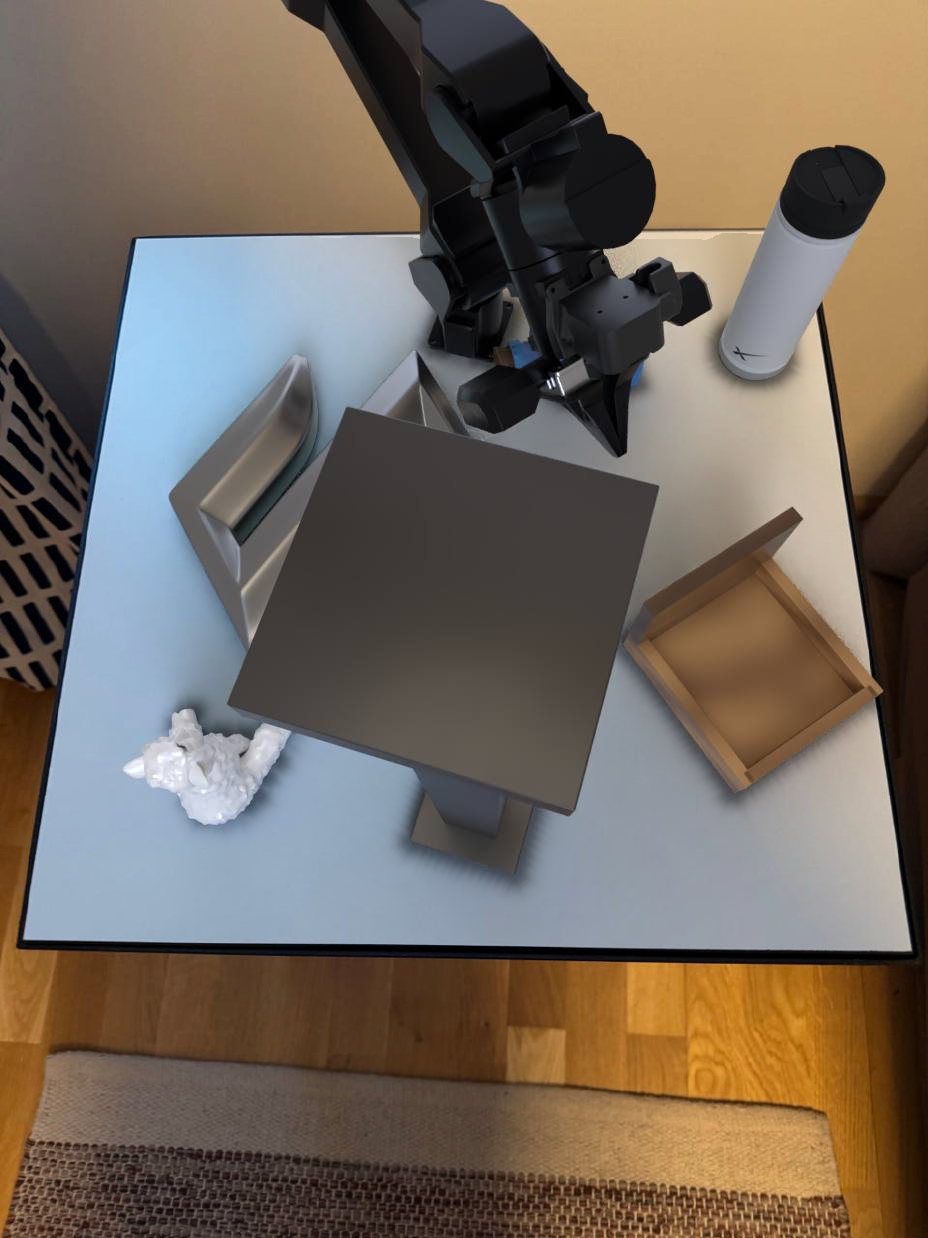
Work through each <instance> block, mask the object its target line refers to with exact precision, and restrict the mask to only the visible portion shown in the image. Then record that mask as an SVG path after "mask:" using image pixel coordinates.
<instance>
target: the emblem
mask: <svg viewBox="0 0 928 1238" xmlns="http://www.w3.org/2000/svg"><path fill="white" fill-rule="evenodd" d="M318 406H319V405H318V398H317V391H316V385H315V380H314V375H313V372H312V367H311V365H310V362H309V359H308V357H307V356H305V355H302V354H300V353H295V354H293V355H292V356H291V357H290V358H289V359H288V360H287V361H286V362H285V363H284V364H283V366H282V367H281V368H280V370H278V371H277V373H276V374H275V376H273V378H272V379H271V380H270V381H269V382H268V383H267V385H266V386H265V387H264V388H263V389H262V390H261V391H260V392H259V393H258V394H257V396H255V398H254V399H253V400H252V401H251V402H250V403H249V404H248V405H247V406H246V407H245V408H244V409H243V410H242V411H241V413H240V414H239V415H238V416H237V417H236V418H235V419H234V420H233V421H232V422H231V424H230V425H229V426H228V427H227V428H226V429H225V430H224V431H223V432H222V433H221V435H219V437H218V438H217V439H216V440H215V441H214V442H213V443H212V445H211V446H210V447H208V449H207V450H206V451H205V452H204V453H203V455H201V457H200V458H199V459H198V460H197V461H196V462H195V463H194V465H192V467H191V468H190V469H189V470H188V471H187V472H186V473H185V474H184V475H183V477H182V478H181V479H180V480H179V481H178V482H177V483H176V484H175V485H174V486H173V487H172V489H171V490H170V491H169V493H168V501H169V504H170V506H171V508H172V510H173V512H174V514H175V516H176V519H177V520H178V522H179V524H180V526H181V528H182V530H183V532H184V534H185V536H186V538H187V540H188V542H189V543H190V546H191V547H192V550H193V551H194V553H195V555H196V557H197V560H198V561H199V563H200V566H201V567H202V569H203V571H204V572H205V575H206V576H207V578H208V581H209V582H210V585H211V586H212V588H213V590H214V592H215V594H216V596H217V598H218V600H219V602H220V604H221V606H222V608H223V610H224V611H225V613H226V616H227V617H228V619H229V622H230V624H231V625H232V627H233V629H234V631H235V632H236V635H237V636H238V639H239V640H240V642H241V644H242V647H243V648H244V649H245V651H246V653H247V652H248V650H249V647H250V645H251V642H252V640H253V637H254V635H255V632H256V630H257V627H258V625H259V622H260V620H261V617H262V615H263V612H264V610H265V608H266V605H267V603H268V600H269V598H270V595H271V593H272V590H273V588H274V585H275V583H276V580H277V578H278V575H279V573H280V570H281V568H282V565H283V563H284V560H285V558H286V555H287V553H288V550H289V548H290V546H291V543H292V541H293V538H294V536H295V533H296V531H297V528H298V526H299V523H300V521H301V518H302V516H303V513H304V511H305V508H306V506H307V503H308V501H309V498H310V496H311V493H312V491H313V489H314V486H315V484H316V481H317V479H318V476H319V474H320V471H321V469H322V466H323V464H324V461H325V459H326V456H327V454H328V451H329V449H330V446H331V444H332V441H333V439H334V436H333V437H332V438H331V440H330V441H329V442H328V443H327V444H326V445H325V447H324V448H323V449H322V450H321V451H320V452H319V453H318V454H317V456H316V457H315V458H314V459H313V460H312V461H311V462H310V463H309V465H308V466H307V467H306V468H305V469H304V470H303V472H302V473H301V474H299V473H300V471H301V470H302V469H303V467H304V466H305V464H306V462H307V461H308V459H309V457H310V455H311V453H312V452H313V451H312V450H313V448H314V445H315V442H316V439H317V438H316V437H317V433H318V426H319V407H318ZM358 409H361V410H365V411H369V412H373V413H377V414H380V415H384V416H388V417H392V418H396V419H400V420H404V421H408V422H412V423H416V424H420V425H424V426H428V427H432V428H435V429H439V430H443V431H447V432H451V433H455V434H459V435H463V436H467V437H471V438H472V436H471V435H470V433H469V431H468V430H467V428H466V427H465V425H464V424H463V422H462V420H461V419H460V417H459V415H458V414H457V412H456V411H455V409H454V407H453V405H452V404H451V403H450V401H449V399H448V398H447V396H446V394H445V393H444V391H443V389H442V388H441V386H440V385H439V383H438V382H437V380H436V378H435V376H434V375H433V373H432V372H431V370H430V368H429V367H428V365H427V364H426V362H425V360H424V359H423V358H422V355H420V353H419V352H418V350H417V349H413V350H411V351H410V352H409V353H408V354H407V355H406V356H405V357H404V359H402V360H401V362H400V363H399V364H398V365H397V366H396V367H395V368H394V370H393V371H392V372H390V373H389V375H388V376H387V377H386V378H385V380H384V381H383V382H382V383H380V385H379V386H378V387H377V388H376V389H375V391H374V392H373V393H372V394H371V395H370V396H369V397H368V398H367V399H366V400H365V402H364V403H363V404H362V405H361V406H360V407H359V408H358ZM298 474H299V476H298ZM297 476H298V477H297ZM296 477H297V478H296ZM295 478H296V480H295ZM294 480H295V481H294ZM293 481H294V482H293ZM292 482H293V483H292ZM289 486H290V487H289ZM283 493H284V494H283Z"/></svg>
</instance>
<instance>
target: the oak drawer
mask: <svg viewBox="0 0 928 1238" xmlns="http://www.w3.org/2000/svg"><path fill="white" fill-rule="evenodd" d="M802 521H804V517H802V515H801V514H800V513H799V512H798V511H797V510H796V508H795V507H794V506H790V507H789V508H787V509H786V510H784V511H783V512H781V513H780V514H778V515H776V516H775V517H773V518H772V519H770V520H769V521H767V522H765V523H764V524H763V525H761V526H759V527H758V528H757V529H755V530H753V531H751V532H750V533H749V534H747V535H746V536H744V537H743V538H741V539H739V540H738V541H736V542H735V543H733V544H731V545H730V546H728V547H727V548H725V549H724V550H722V551H721V552H719V553H718V554H716V555H715V556H713V557H711V558H710V559H709V560H707V561H705V562H704V563H702V564H700V565H699V566H697V567H696V568H694V569H693V570H691V571H690V572H688V573H687V574H685V575H684V576H682V577H680V578H679V579H678V580H676V581H674V582H673V583H671V584H670V585H668V586H667V587H665V588H664V589H662V590H660V591H659V592H657V593H655V594H654V595H653V596H651V597H650V598H648V599H645V601H644V602H643V603H642V606H641V608H640V610H639V612H638V614H637V615H636V617H635V618H634V619H635V620H634V621H633V623H632V625H631V627H630V629H629V631H628V633H627V634H626V637H625V638H624V640H623V642H622V646H623V647H624V648H625V650H626V652H628V654H629V655H630V657H632V659H633V660H634V661H635V663H636V664H637V665H638V667H639V668H640V670H641V671H642V673H643V674H644V675H645V676H646V677H647V679H648V680H649V682H650V683H651V685H653V687H654V689H656V691H657V692H658V694H659V695H660V696H661V698H662V699H663V700H664V702H665V703H666V704H667V706H668V707H669V709H670V710H671V711H672V712H673V714H674V715H675V716H676V718H677V719H678V720H679V722H681V724H682V726H683V727H684V729H685V730H686V731H687V732H688V734H689V736H691V738H692V739H693V740H694V742H695V743H696V745H697V746H698V748H699V749H701V751H702V752H703V754H704V755H705V757H706V758H707V759H708V761H709V762H710V763H711V765H712V766H713V767H714V768H715V770H716V771H717V772H718V774H719V775H720V776H721V778H722V779H723V781H724V782H725V783H726V785H727V786H728V787H729V788H730V790H731V791H732V793H734V794H736V793H739V792H740V791H743V790H745V789H747V788H748V787H750V786H752V785H753V784H754V783H755V782H757V781H759V780H760V779H761V778H763V777H765V775H767V774H768V773H770V772H771V771H772V770H774V769H776V768H777V767H778V766H780V765H781V764H783V763H784V762H785V761H787V760H788V759H789V758H791V757H793V756H794V755H795V754H797V753H798V752H799V751H801V750H803V749H804V748H805V747H807V746H808V745H810V744H811V743H813V742H814V741H816V740H817V739H818V738H819V737H821V736H822V735H824V734H825V733H827V732H828V731H830V730H831V729H832V728H834V727H835V726H836V725H838V724H840V723H841V722H842V721H844V720H845V719H847V718H848V717H850V716H852V714H854V713H855V712H857V711H858V710H859V709H861V708H862V707H864V706H866V705H867V704H868V703H869V702H871V701H873V700H874V699H875V698H877V697H878V696H879V695H881V694H882V693H883V692H884V689H883V688H882V687H881V685H879V683H878V682H877V681H876V680H875V678H873V676H872V675H871V674H870V673H869V672H868V670H867V669H866V668H865V667H864V665H862V663H861V662H860V661H859V660H858V658H857V657H856V656H855V655H854V654H853V652H851V650H850V649H849V648H848V647H847V645H846V644H845V643H844V641H842V639H841V638H840V637H839V636H838V635H837V633H836V632H835V631H834V630H833V629H832V628H831V626H830V625H829V624H828V623H827V621H825V619H824V618H823V617H822V616H821V615H820V614H819V612H818V611H817V610H816V609H815V607H814V606H813V605H812V604H811V603H810V602H809V600H808V599H807V597H805V596H804V594H803V593H802V592H801V591H800V590H799V589H798V587H797V586H796V585H795V584H794V583H793V582H792V580H791V578H790V577H789V576H788V575H787V574H786V573H785V572H784V570H783V569H782V568H781V567H780V566H779V565H778V564H777V562H776V561H775V560H774V558H773V557H774V556H775V554H777V552H778V551H779V550H780V548H781V547H782V546H783V545H784V544H785V542H786V541H787V540H788V539H789V537H790V536H791V535H792V534H793V532H794V531H795V530H796V529H797V528H798V526H799V525H800V524H801V523H802Z"/></svg>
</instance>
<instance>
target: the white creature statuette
mask: <svg viewBox="0 0 928 1238" xmlns="http://www.w3.org/2000/svg"><path fill="white" fill-rule="evenodd" d="M254 732H255V733H254V735H253V739H249V738H248V737H246V736H244V735H242V734H241V733H233V734H231V735H230V736H228V737H227V736H224V733H222V732H219V733H214V732H210V733H208V734H206V735H204V732H203V727H202V725H201V724H199V722H198V718H197V715H196V712H195V710H194V709H193V708H185V709H182V710H180V711H179V713H178V712H176V711H175V712H173V713H172V716H171V728H170V729H169V730H168V735H169V736H165V735H162V736H158V737H157V738H155V739H153V740H151V741H149V742H146V743H144V744H143V747H142V748H141V751H140V752H141V754H142V755H141V756H138V757H137V758H134V759H132V760H130V761H129V762H127V763H125V764H124V765H123V767H122V771H123V773H125V774H127V775H128V776H130V778H132V779H135V780H140V779H143V778H145V781H146V783H147V785H149V787H151V788H152V789H155V788H161V789H164V790H168V791H169V792H170V793H173V794H176V795H177V796H178V798H179V800H180V805H181V807H182V808H184V809H185V812H186V814H187V816H188V819H190V820H191V819H192V820H195V821H197V822H198V823H201V824H202V825H203V826H206V825H213V826H218V825H224V824H226V823H227V822H228V821H230V820H235V819H237V817H238V816H239V814H240V813H242V812H244V811H245V810H246V808H247V807H248V806H249V805H250V803H251V801H253V799H254V795H255V794H257V793H258V791H259V789H260V788H261V787H260V786H261V785H262V784H263V780H264V779H265V777H266V776H268V775H269V772H270V771H271V769H272V767H273V765H275V764H276V762H277V760H278V759H279V757H280V756H281V751H282V750H283V749H285V748H286V745H287V740H288V739H289V737H290V736H291V735H292V733H293V732H292V731H289V730H285V729H282V728H279V727H276V726H272V725H269V724H266V723H263V722H262V724H260V726H259V727H258V728H257V729H255V731H254Z"/></svg>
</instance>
